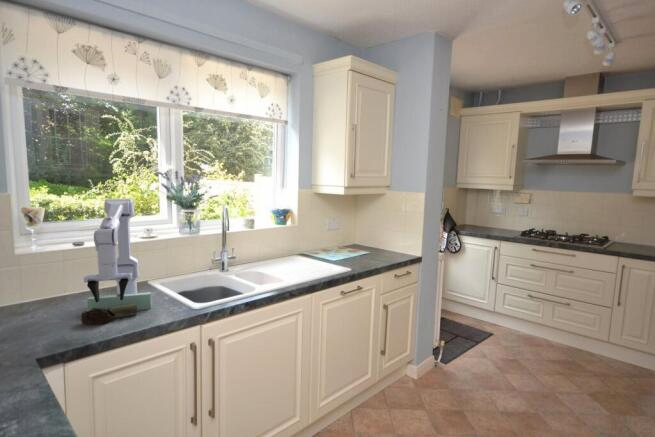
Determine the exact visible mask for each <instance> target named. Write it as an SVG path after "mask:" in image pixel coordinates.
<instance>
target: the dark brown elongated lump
mask: <svg viewBox="0 0 655 437" xmlns="http://www.w3.org/2000/svg"><path fill="white" fill-rule="evenodd" d="M137 314H138V310H137V306H136V304H131V305H125V306H119V307H112V308H108V309H102V308H92V310H90V311H88V310H85V311H84V312H82V313H81V319H80V321H81V322H82V324H96V325H104V324H107V323H108V322H110V321H111V320H112V319H115V318H123V317H129V316H131V317H132V316H136V315H137Z"/></svg>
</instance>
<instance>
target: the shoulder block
mask: <svg viewBox="0 0 655 437" xmlns="http://www.w3.org/2000/svg"><path fill="white" fill-rule="evenodd" d="M86 300H87V311H90V310H92V308H102V309H108V308H112V307H119V306H125V305H131V304H136V306H137V311H139V310H149V309H151V310H152V307H153V304H152V292H151V291H150V292H137V293H135V294H124V299H123V300H120V293H118V294H113V295H112V294H111V295H99V301H98V302H96V301H95V298H94V296H89V297H88V298H87V299H86Z"/></svg>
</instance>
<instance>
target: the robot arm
mask: <svg viewBox="0 0 655 437" xmlns="http://www.w3.org/2000/svg"><path fill="white" fill-rule="evenodd" d="M103 205H104V208H103V209H104V212H105V214H106V215H107V216H105V217H103V219H102V221H101V223H100V226H99V228H97V230H95V231H94V233H93V242H94V243H93V244H94V246H95V251H96V253H97V266H98V267H97V268H98V274H91V275H90V274H89V275H84V277H83V283H87V284H86V286H87V288H88V289H89V291H90V292H91V294H92V297H94V298H95V301H96V302H98V301H99V296H100V291H99V290H100V287H99V286H100V282H104V281H105V282H107V281H115V282H116V291H117V292H116V293H117V294H118V293H120V300H123V299H124V294H135V293H138V285H137V284H138V282H137V279H138V278H139V277H140V272H141V271H140V264H139V263H140V262H139V260H138V258H136V257H134V256H132V254H131V253H132V252H131V235H130V234H131V233H130V231H131V230H130V221H131V219H132V218H134V217H135V202H134V200H133V198H106V199H105V200H104V204H103ZM117 249H118V254H117ZM117 255H118V256H117ZM117 294H116V295H117Z"/></svg>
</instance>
